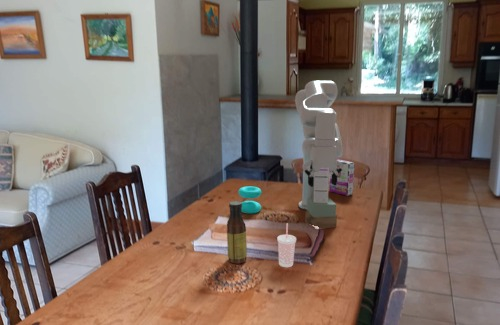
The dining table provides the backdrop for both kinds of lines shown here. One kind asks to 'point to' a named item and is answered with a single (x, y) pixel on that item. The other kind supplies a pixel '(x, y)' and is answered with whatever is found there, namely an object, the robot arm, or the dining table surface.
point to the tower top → (321, 208)
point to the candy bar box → (344, 179)
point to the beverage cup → (286, 249)
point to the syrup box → (321, 185)
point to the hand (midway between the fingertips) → (322, 185)
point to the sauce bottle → (236, 234)
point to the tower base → (321, 221)
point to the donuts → (250, 193)
